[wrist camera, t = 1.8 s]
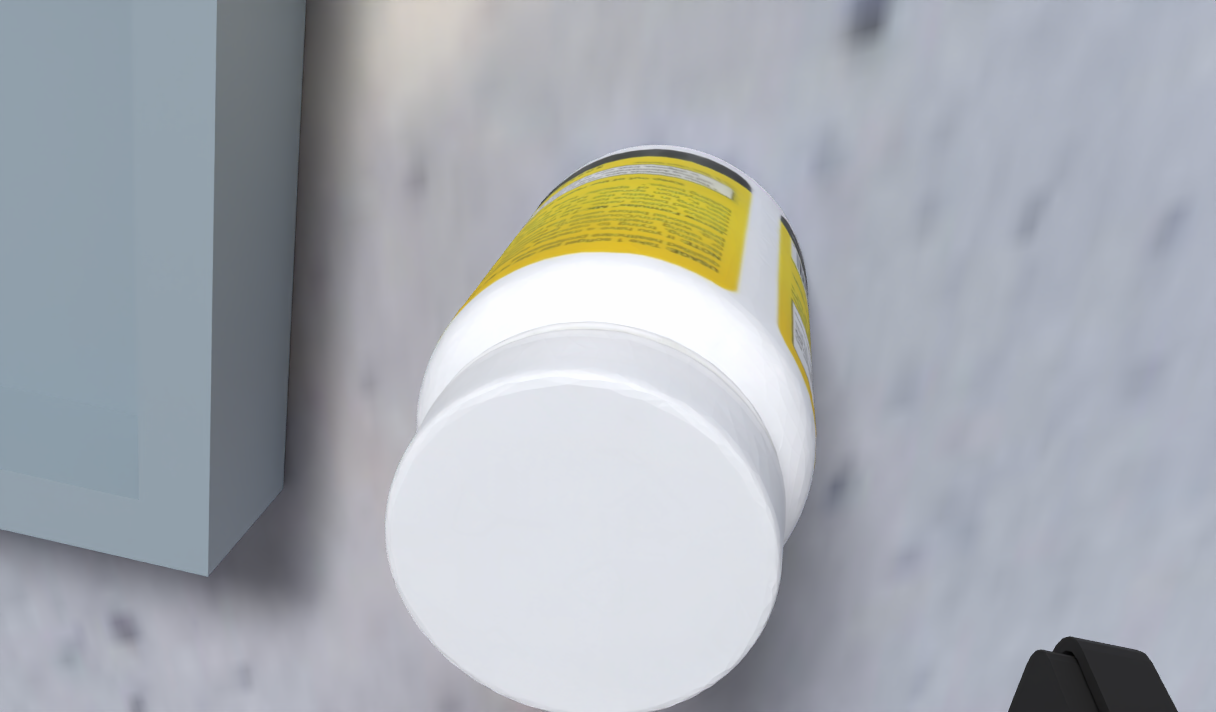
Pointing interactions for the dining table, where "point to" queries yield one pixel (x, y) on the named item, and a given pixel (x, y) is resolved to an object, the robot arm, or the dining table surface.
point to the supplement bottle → (614, 441)
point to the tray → (146, 270)
